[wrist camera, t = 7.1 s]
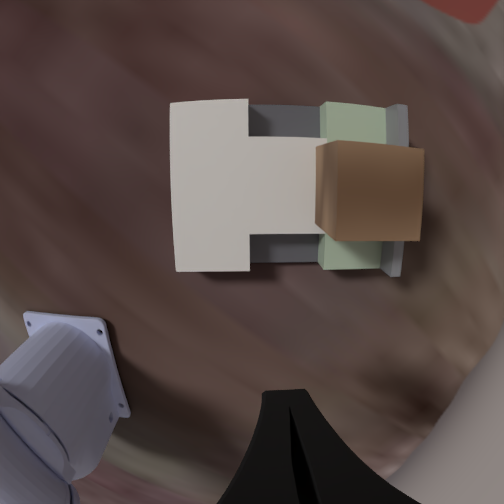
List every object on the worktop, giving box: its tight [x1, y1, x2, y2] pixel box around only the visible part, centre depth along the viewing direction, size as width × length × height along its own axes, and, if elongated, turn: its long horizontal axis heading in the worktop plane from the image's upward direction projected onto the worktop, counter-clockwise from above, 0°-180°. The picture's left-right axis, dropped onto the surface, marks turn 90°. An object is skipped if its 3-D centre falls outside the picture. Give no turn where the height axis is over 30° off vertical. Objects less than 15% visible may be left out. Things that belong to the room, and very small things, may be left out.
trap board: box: [170, 99, 409, 277], centre depth 16 cm, size 9×12×4 cm
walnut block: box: [315, 140, 424, 241], centre depth 13 cm, size 4×4×4 cm
